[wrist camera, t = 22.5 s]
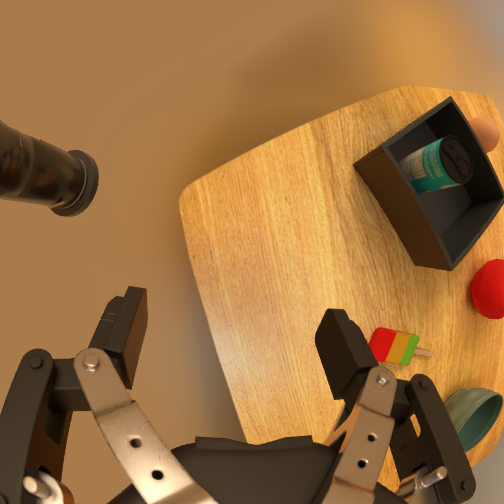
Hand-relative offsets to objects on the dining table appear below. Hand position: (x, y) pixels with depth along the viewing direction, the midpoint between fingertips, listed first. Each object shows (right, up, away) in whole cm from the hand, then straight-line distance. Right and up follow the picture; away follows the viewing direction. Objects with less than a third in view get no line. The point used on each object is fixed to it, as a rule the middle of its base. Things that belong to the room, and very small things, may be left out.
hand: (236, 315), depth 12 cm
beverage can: (+24, +14, +27) cm, 39 cm away
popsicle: (+27, -14, +29) cm, 42 cm away
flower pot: (+47, -33, +30) cm, 65 cm away
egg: (+46, +26, +28) cm, 60 cm away
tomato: (+47, -4, +29) cm, 55 cm away
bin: (+30, +14, +28) cm, 43 cm away
